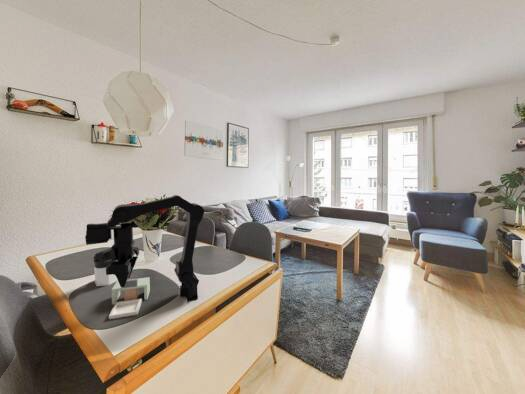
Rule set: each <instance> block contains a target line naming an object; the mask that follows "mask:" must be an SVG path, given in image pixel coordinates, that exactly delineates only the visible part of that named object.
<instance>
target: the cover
mask: <svg viewBox="0 0 525 394" xmlns="http://www.w3.org/2000/svg"><path fill="white" fill-rule="evenodd" d="M150 278H151V277H140V278H131V279H130V278H129V279H127V282H126V284H125V287H121V286H120V284H119V282H118V281H116V282H114V285H113V287H112V288H111V290H110V291H111V305H113V306H114V305H115V304H116V302H118V299H119V297H120V296H121V291H124V290H127V289H135V288H138V289H141V288H143V291H144V292H143V293H144V295H143V296H144V298H143V299H144V300H148V298H149V294H150V291H151V284H150V283H151V279H150Z"/></svg>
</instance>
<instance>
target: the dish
mask: <svg viewBox="0 0 525 394" xmlns="http://www.w3.org/2000/svg"><path fill="white" fill-rule="evenodd" d="M142 302H143V298H137V299H134V300H127V301H124V300H121V301H117V302H116V303H115V304H113V307H112V309H111V311H110V313H109V315H108V320H114V319H115V320H116V319H120V318H126V317H132V316H138V314H139V312H140V308H141V306H142Z"/></svg>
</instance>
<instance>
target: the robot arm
mask: <svg viewBox="0 0 525 394" xmlns="http://www.w3.org/2000/svg"><path fill="white" fill-rule="evenodd" d="M174 207H178V208H180V209H182V210H184V211H186V212H185V217H186V231H185V236H184V242H183V248H182V253H181V254H182V255H181V258H180V259H179V261H177V260H176V261H175V268H174V269H173V270H174V273H175V275H176V277H177V279H178V281H179V283H180V284H181V285H180V286H179V297H180V298H186V301H194V300H198V298H199V296H198V285H199V282H200V280H199V278H198V277H197V275H196V274H195V272H194V263H193V258H194V257H193V256H194V252H195V246H196V240H197V235H198V234H197V233H198V229H199V226H200V224H201V222H202V220H203V218H204V214H205V209H204V207H203V206H202V205H200V204H198V203H195V202H193V203H191V202H189V201H188V200H186V199H184V198H183V197H181V195H178V194H175V195H172V196H168V197H164V198H160V199H154V200H151V201H147V202H141V203H125V204H118V205H117V206H116V207H114V209H113V210H112V215H111V217H110V219H108V220H107V222H102V223H87V224H86V232H85V235H84V236H85V237H84V239H85V244H86V246H89V245H97V244H105V243H106V244H107V243H109V242H108V241H110V240H112V236H113V244H112V246H111V247H109V248H107V249H103V250H101V251H99V252H97V253H95V254H94V256H93V257H92V258H93V262H96V263H98V265H99V264H102V263H103V262H105V261H108V260H110V259H111V261H115V260H116V262H112V263H111V264H110V265H109V266H108V267H107V268H106V275H111V274H114V275H115V276H116V277H117V279H118V282H119V284H120V286H121V287H125V284H126V282H127V280H129V279H130V278H131V275H132V273H133V270H134V268H135V266H136V263H137V260H138V258H139V257H138V256H139V255H140V248H138V247H136V246H134V245H135V242H136V241H135V240H134V235H133V234H134V233H133V232H134V231H133V228H139V223H137V222H136V221H135V219H137V218H139V217H140V216H143V215H146V214H149V213H153V212H158V211H161V210H165V209H170V208H174ZM112 231H113V233H112ZM112 234H113V235H112Z"/></svg>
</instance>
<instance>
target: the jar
mask: <svg viewBox="0 0 525 394" xmlns="http://www.w3.org/2000/svg"><path fill="white" fill-rule="evenodd" d="M116 261H117V260H115V261H111V259H110V260H108V261H105V262H103V263H102V264H99V265H98V263H96V262H94V261H93V262H94V263H93V264H94V265H93V266H94V267H93V269H94V284H95V285H96V287H104V286H105V287H106V286H110V285H112V284H115V283H116V282H117V281H118V279H117V277H116V276H115V275H114V274H111V275H106V268H107V267H108V266H109V265H110V264H111V263H112V262H116Z"/></svg>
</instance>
